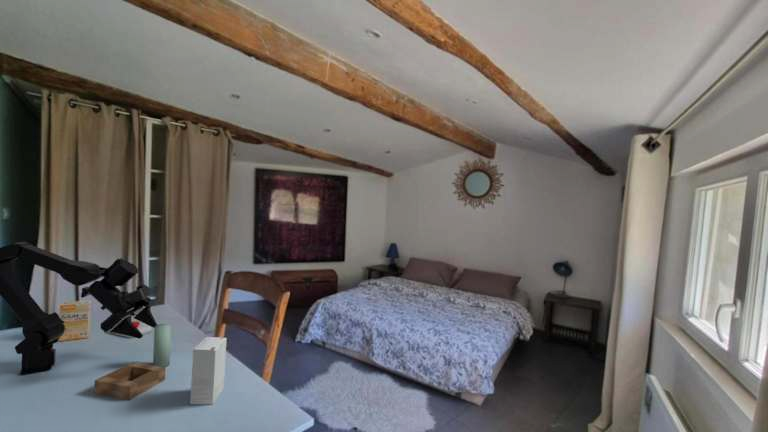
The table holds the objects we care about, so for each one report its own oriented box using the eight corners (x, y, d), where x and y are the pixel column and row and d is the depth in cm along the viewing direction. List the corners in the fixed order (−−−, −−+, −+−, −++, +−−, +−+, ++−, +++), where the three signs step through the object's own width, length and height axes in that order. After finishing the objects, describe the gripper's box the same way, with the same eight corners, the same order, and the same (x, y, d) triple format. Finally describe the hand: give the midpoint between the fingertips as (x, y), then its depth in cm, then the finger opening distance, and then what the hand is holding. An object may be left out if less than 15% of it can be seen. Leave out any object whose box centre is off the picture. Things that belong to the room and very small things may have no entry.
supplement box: (57, 342, 122) (58, 305, 121) (60, 337, 126) (61, 301, 125) (88, 338, 126) (89, 302, 126) (90, 334, 130) (91, 299, 130)
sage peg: (153, 369, 106) (155, 329, 106) (152, 364, 110) (154, 324, 109) (170, 366, 109) (171, 327, 108) (168, 361, 112) (170, 322, 112)
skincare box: (202, 388, 97) (205, 336, 97) (225, 388, 98) (227, 336, 97) (189, 405, 89) (191, 348, 88) (213, 405, 89) (216, 348, 89)
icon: (157, 320, 137) (132, 328, 127) (157, 331, 137) (131, 340, 128) (136, 315, 141) (109, 323, 132) (135, 326, 141) (109, 334, 132)
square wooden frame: (94, 393, 92) (94, 380, 92) (132, 373, 103) (133, 362, 103) (129, 400, 90) (129, 386, 90) (164, 379, 101) (165, 367, 101)
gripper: (113, 285, 98) (155, 323, 100) (146, 272, 116) (181, 305, 118) (81, 313, 96) (124, 351, 99) (119, 295, 115) (155, 328, 117)
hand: (149, 331), depth 108 cm, fingers open, 9 cm apart
